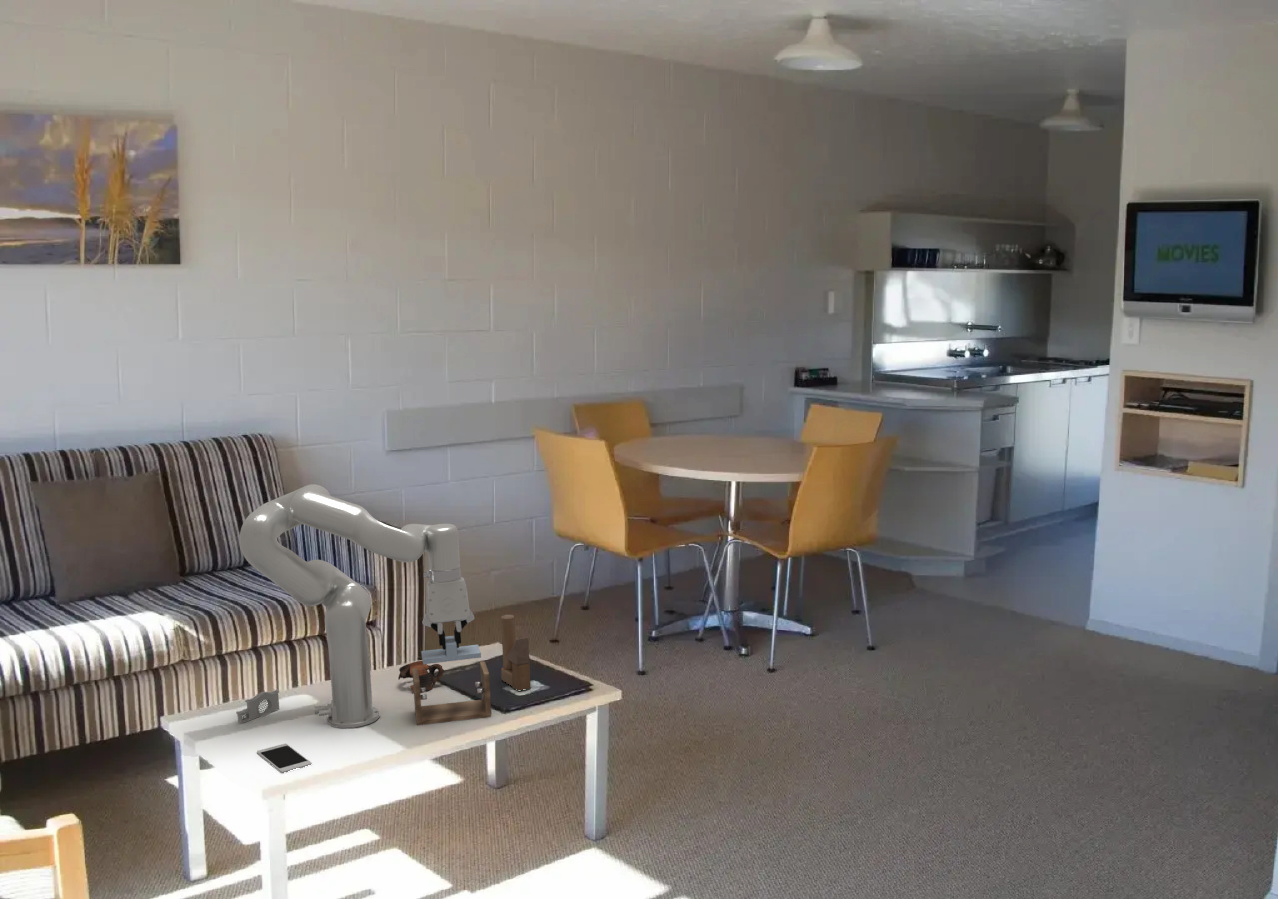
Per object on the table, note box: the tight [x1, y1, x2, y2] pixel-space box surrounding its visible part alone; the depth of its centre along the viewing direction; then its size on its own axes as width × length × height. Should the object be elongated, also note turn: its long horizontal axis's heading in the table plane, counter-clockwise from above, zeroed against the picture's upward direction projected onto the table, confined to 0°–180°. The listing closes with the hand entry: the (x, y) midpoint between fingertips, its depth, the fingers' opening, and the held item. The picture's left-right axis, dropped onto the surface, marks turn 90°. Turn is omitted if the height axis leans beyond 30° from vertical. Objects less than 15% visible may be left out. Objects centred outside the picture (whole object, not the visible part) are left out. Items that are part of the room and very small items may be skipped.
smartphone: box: [256, 743, 313, 774], centre depth 278 cm, size 7×16×1 cm, turn 38°
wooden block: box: [500, 614, 531, 691], centre depth 321 cm, size 4×11×18 cm, turn 31°
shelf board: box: [421, 635, 482, 665], centre depth 300 cm, size 14×7×4 cm, turn 103°
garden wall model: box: [236, 688, 280, 724], centre depth 305 cm, size 12×2×6 cm, turn 143°
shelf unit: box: [412, 660, 492, 726], centre depth 302 cm, size 18×10×11 cm, turn 103°
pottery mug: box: [398, 659, 445, 695], centre depth 323 cm, size 12×10×8 cm
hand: (450, 646), depth 300 cm, fingers closed on shelf board, 2 cm apart
